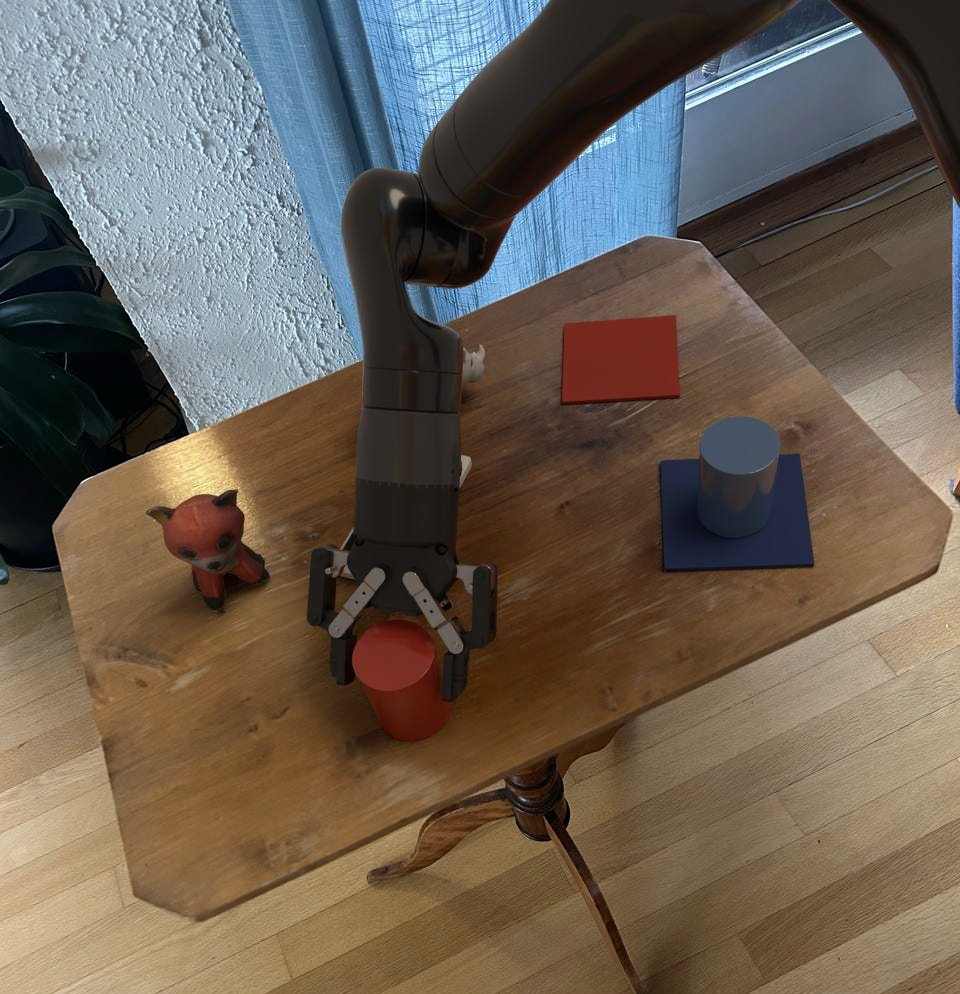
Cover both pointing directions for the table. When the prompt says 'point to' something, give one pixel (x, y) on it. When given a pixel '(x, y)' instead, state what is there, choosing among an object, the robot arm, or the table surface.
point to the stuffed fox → (210, 543)
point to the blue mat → (704, 550)
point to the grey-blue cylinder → (737, 476)
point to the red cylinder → (402, 679)
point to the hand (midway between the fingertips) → (397, 691)
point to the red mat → (620, 360)
